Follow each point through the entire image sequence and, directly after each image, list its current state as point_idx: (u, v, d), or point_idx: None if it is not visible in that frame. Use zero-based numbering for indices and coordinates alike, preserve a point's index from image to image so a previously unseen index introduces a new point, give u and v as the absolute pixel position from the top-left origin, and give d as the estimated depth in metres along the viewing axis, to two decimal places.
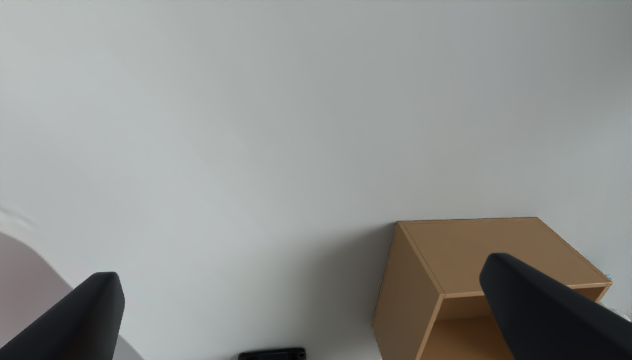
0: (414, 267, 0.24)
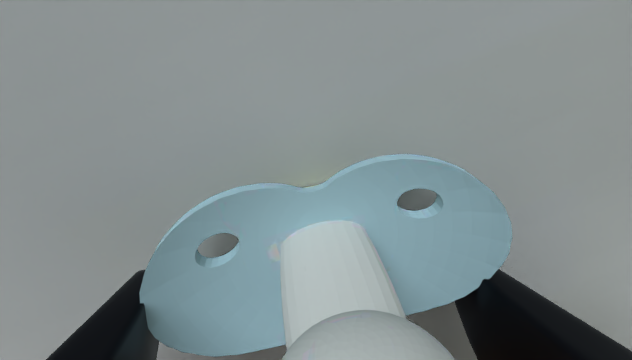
0: None
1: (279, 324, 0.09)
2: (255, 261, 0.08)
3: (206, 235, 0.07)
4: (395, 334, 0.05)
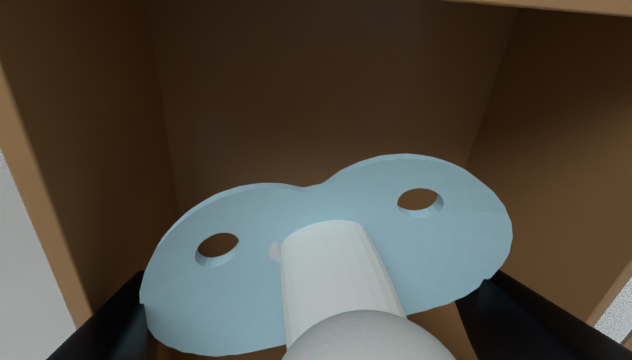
0: None
1: (279, 324, 0.09)
2: (255, 261, 0.08)
3: (206, 235, 0.07)
4: (396, 334, 0.05)
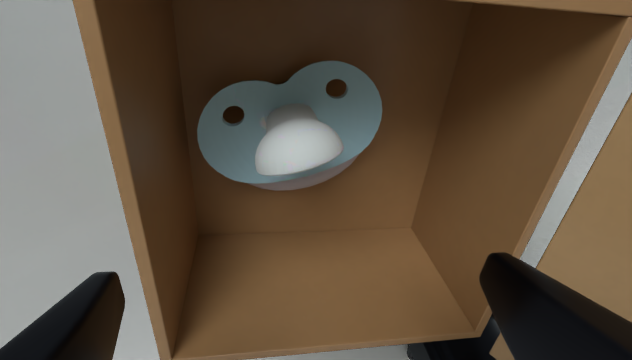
0: None
1: None
2: (253, 127, 0.14)
3: (227, 105, 0.14)
4: (308, 118, 0.11)
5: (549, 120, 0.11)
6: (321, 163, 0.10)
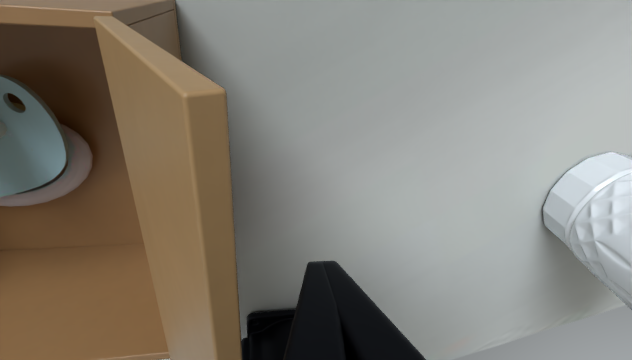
0: None
1: None
2: None
3: None
4: None
5: None
6: None
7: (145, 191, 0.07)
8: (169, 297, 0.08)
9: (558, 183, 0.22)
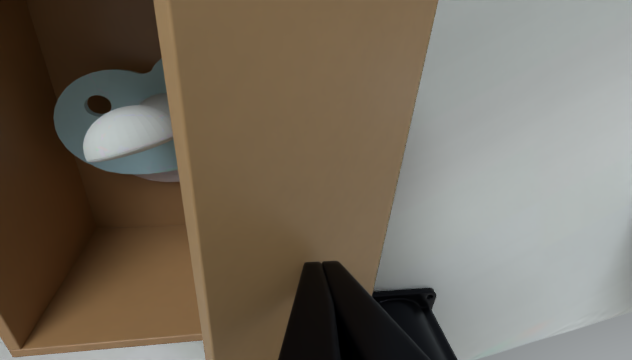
0: None
1: (147, 160, 0.15)
2: None
3: (88, 94, 0.13)
4: (143, 105, 0.11)
5: None
6: (136, 149, 0.10)
7: None
8: None
9: None
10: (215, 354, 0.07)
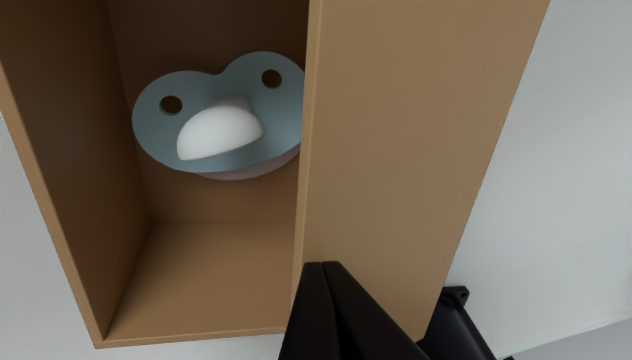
0: None
1: (211, 159, 0.16)
2: (193, 117, 0.15)
3: (163, 95, 0.14)
4: (230, 106, 0.12)
5: None
6: (233, 148, 0.10)
7: None
8: None
9: None
10: None
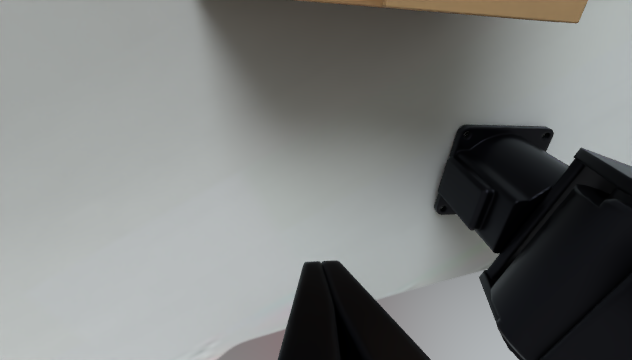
0: None
1: None
2: None
3: None
4: None
5: None
6: None
7: None
8: None
9: None
10: None
